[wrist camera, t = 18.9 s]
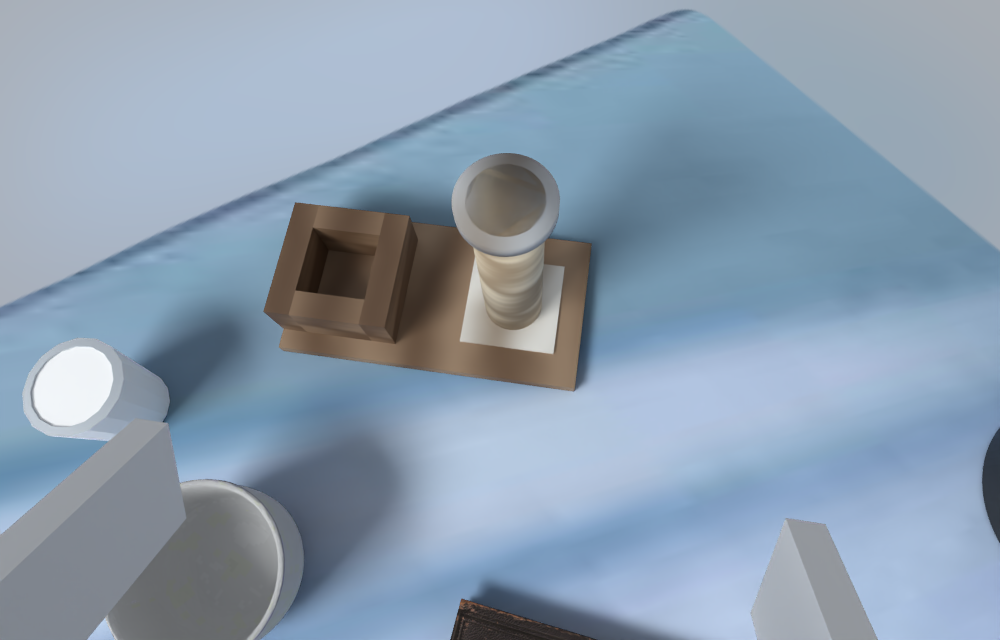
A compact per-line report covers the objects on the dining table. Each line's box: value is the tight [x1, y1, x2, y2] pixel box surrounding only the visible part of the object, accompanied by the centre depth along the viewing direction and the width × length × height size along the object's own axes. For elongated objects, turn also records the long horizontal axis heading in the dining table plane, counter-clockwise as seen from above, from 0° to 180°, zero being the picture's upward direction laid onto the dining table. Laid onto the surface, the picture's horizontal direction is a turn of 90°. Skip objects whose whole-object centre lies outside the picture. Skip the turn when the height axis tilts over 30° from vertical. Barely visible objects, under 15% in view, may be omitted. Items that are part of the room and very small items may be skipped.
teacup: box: [105, 479, 304, 640], centre depth 40 cm, size 14×11×8 cm
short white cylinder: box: [22, 338, 170, 441], centre depth 45 cm, size 7×7×7 cm
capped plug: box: [452, 153, 560, 330], centre depth 41 cm, size 6×6×16 cm
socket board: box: [263, 202, 592, 391], centre depth 48 cm, size 23×12×5 cm, turn 81°
